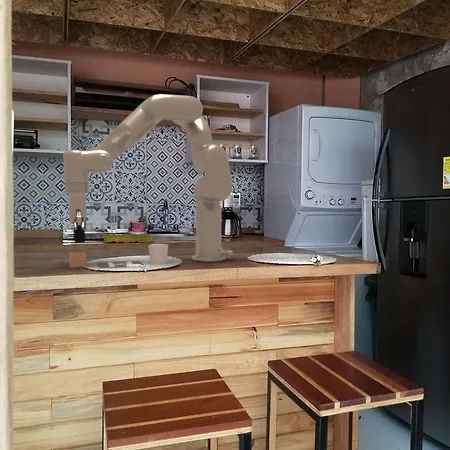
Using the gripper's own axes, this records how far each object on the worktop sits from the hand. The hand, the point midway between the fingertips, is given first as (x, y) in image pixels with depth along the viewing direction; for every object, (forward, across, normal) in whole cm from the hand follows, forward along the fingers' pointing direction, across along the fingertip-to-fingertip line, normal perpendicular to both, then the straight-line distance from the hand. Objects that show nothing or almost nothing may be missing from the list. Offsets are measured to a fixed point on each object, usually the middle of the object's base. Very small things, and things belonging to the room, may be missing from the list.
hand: (79, 240), depth 148 cm
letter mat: (+9, 0, +13) cm, 16 cm away
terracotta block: (+9, 0, -1) cm, 9 cm away
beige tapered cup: (+10, 0, +26) cm, 28 cm away
